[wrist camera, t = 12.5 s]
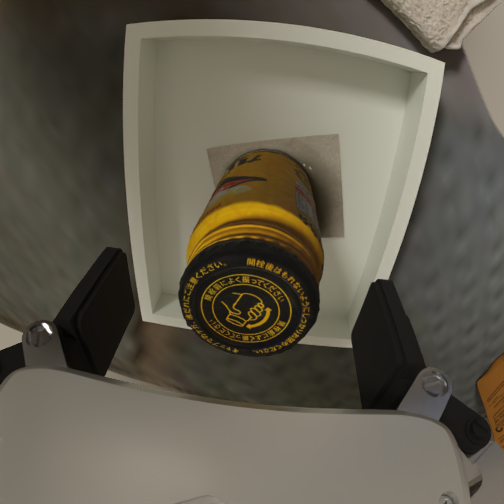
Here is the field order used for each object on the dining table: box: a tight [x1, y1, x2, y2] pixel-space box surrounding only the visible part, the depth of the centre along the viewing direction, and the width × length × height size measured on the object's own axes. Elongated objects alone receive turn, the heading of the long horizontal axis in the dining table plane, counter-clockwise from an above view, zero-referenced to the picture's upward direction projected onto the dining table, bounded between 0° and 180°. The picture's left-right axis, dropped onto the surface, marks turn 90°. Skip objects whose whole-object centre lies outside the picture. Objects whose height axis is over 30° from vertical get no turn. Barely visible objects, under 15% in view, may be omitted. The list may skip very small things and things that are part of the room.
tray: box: [123, 19, 445, 348], centre depth 21 cm, size 22×18×4 cm
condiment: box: [178, 134, 344, 357], centre depth 16 cm, size 7×8×12 cm
